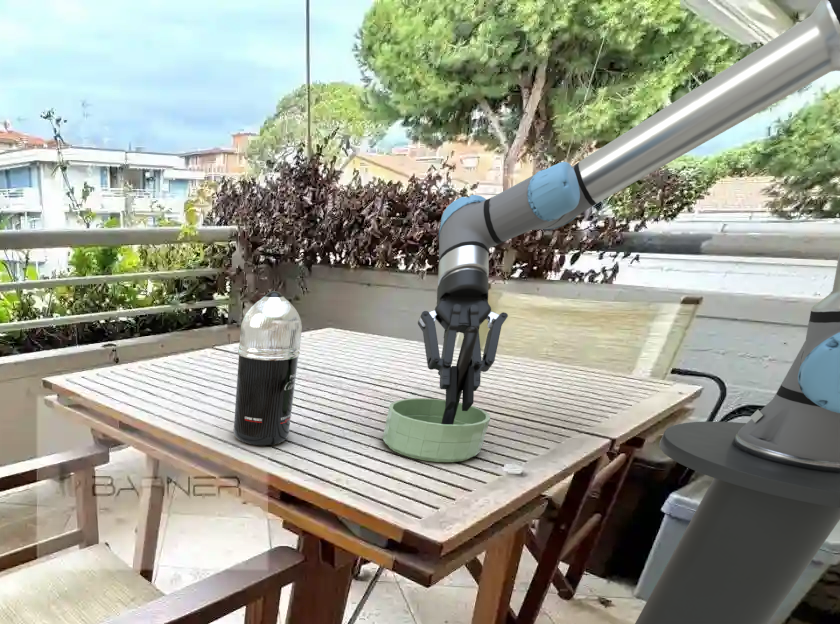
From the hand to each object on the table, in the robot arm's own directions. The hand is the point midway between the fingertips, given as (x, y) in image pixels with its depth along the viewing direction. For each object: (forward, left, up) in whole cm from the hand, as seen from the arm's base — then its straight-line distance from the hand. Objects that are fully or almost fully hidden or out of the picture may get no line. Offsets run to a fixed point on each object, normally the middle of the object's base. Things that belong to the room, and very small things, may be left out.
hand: (459, 406), depth 87 cm
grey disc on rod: (+2, -3, -8) cm, 8 cm away
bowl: (+4, -2, -9) cm, 10 cm away
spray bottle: (+28, +14, -9) cm, 32 cm away
